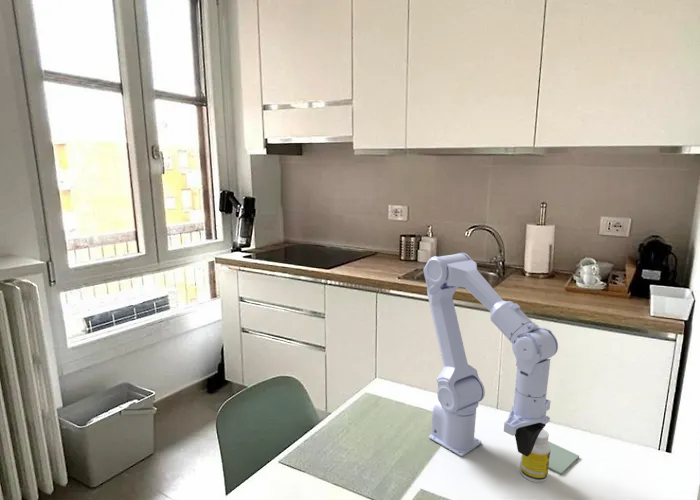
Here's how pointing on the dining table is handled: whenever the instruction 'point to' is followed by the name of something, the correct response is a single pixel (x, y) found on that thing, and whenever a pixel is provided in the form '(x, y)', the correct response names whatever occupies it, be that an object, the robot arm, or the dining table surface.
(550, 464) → the mat
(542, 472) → the supplement bottle
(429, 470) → the dining table surface
